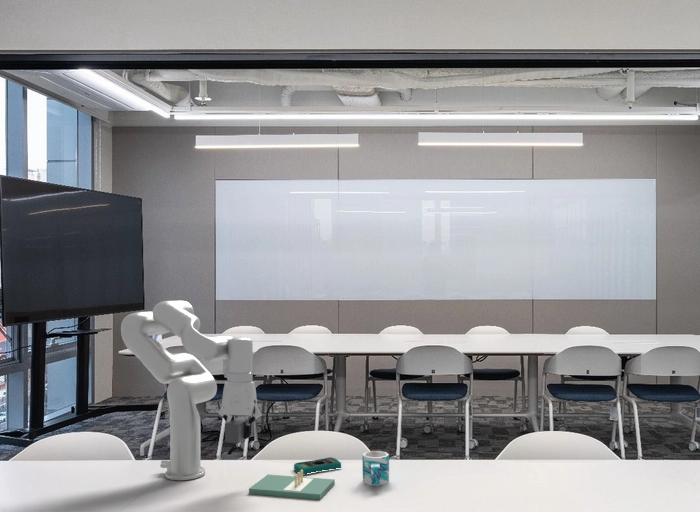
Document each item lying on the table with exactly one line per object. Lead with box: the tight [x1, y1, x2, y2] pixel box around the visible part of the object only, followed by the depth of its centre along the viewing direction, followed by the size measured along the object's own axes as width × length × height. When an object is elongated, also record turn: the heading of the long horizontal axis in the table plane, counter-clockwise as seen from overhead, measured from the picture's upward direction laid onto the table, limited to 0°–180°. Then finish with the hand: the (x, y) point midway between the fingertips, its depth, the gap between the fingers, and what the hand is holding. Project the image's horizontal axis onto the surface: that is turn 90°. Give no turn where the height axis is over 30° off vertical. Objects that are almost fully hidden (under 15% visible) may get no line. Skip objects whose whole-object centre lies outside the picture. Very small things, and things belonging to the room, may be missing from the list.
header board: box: [248, 470, 336, 501], centre depth 185 cm, size 22×14×5 cm, turn 74°
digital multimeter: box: [293, 456, 342, 474], centre depth 204 cm, size 7×15×3 cm, turn 119°
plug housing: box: [224, 416, 254, 444], centre depth 192 cm, size 4×14×6 cm, turn 164°
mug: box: [361, 450, 390, 486], centre depth 189 cm, size 8×12×8 cm
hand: (239, 436), depth 190 cm, fingers closed on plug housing, 4 cm apart
